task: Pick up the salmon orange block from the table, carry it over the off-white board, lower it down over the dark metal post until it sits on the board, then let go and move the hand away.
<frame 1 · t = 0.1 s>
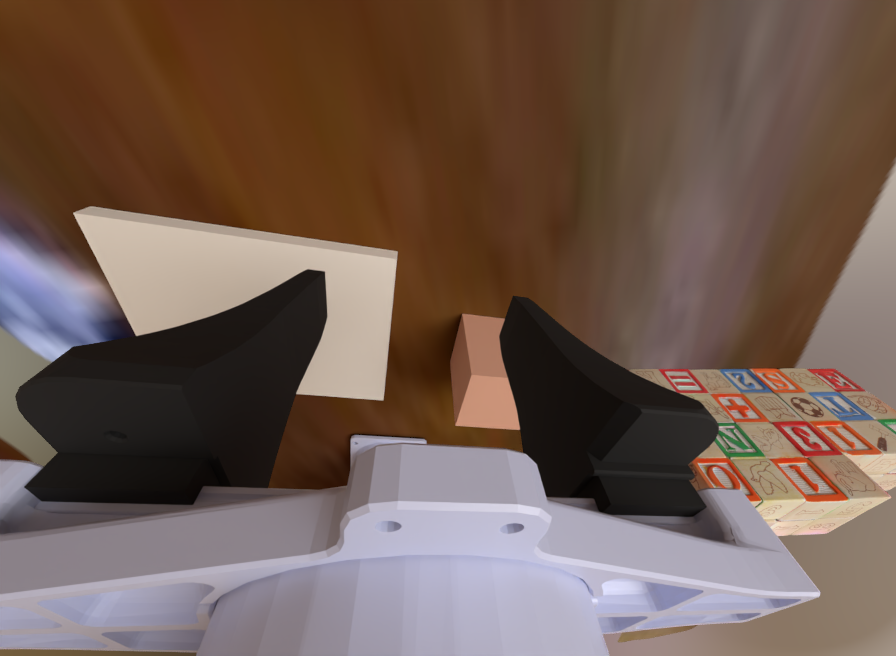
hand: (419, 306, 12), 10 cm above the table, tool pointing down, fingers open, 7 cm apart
post board: (270, 319, 24), on the table
salmon orange block: (485, 342, 27), on the table
stack of blocks: (713, 387, 33), on the table
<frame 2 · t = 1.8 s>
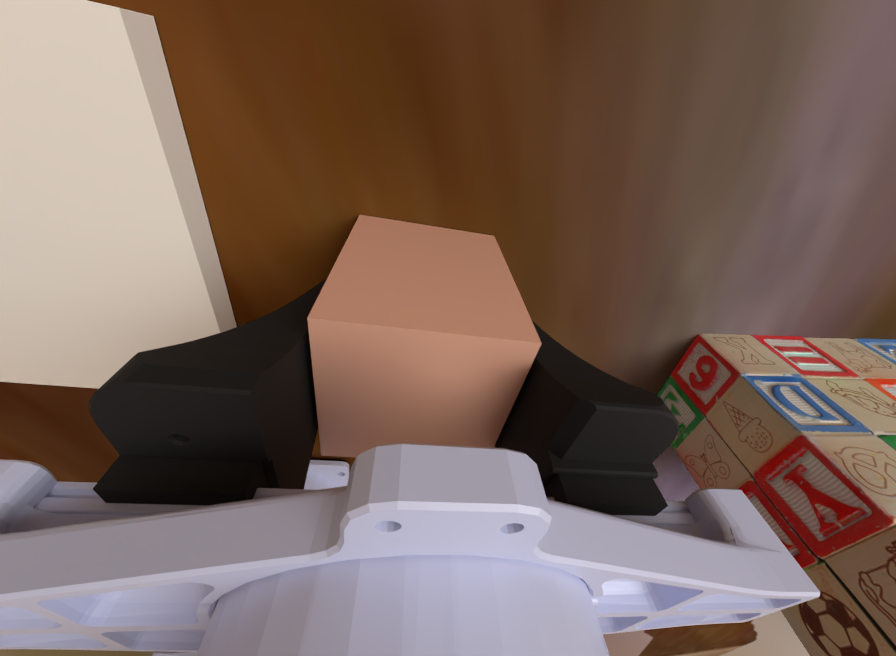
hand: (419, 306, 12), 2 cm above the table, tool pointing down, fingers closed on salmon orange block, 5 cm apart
salmon orange block: (420, 284, 14), on the table, touching gripper
stack of blocks: (828, 373, 19), on the table
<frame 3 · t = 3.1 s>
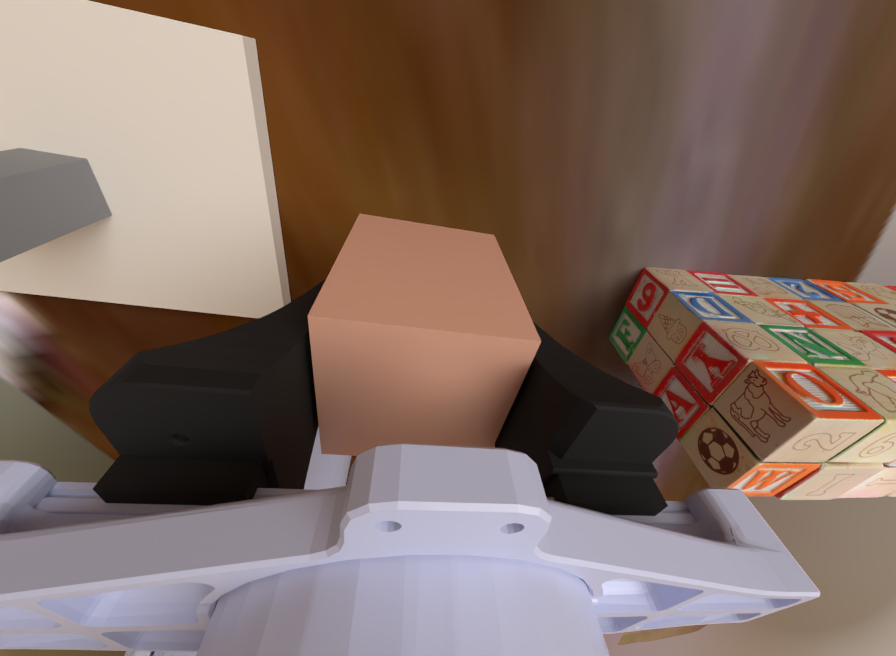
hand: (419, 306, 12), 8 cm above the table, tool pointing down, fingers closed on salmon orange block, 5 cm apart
post board: (90, 177, 16), on the table
salmon orange block: (420, 283, 14), point 6 cm above the table, touching gripper
stack of blocks: (752, 310, 24), on the table
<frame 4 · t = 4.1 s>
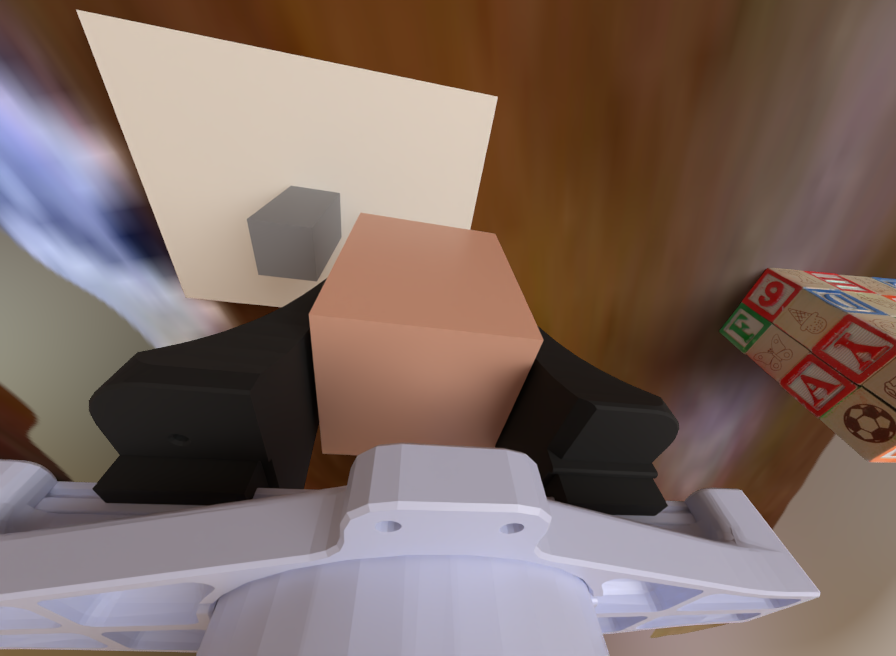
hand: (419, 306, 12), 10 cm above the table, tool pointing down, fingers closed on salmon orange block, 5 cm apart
post board: (322, 206, 20), on the table
salmon orange block: (421, 282, 14), point 8 cm above the table, touching gripper
stack of blocks: (849, 307, 27), on the table
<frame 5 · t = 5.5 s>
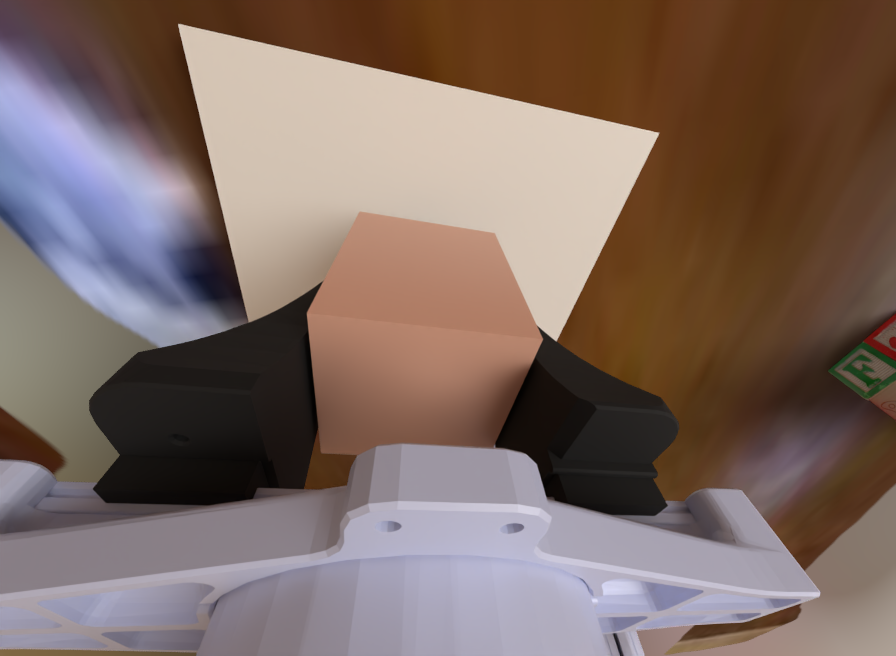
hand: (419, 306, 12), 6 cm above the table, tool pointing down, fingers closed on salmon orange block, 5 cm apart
post board: (421, 247, 17), on the table
salmon orange block: (420, 281, 14), point 4 cm above the table, touching gripper
when the fingers open (4 cm above the table, at t = 6.4 s): salmon orange block drops 1 cm, resting on post board.
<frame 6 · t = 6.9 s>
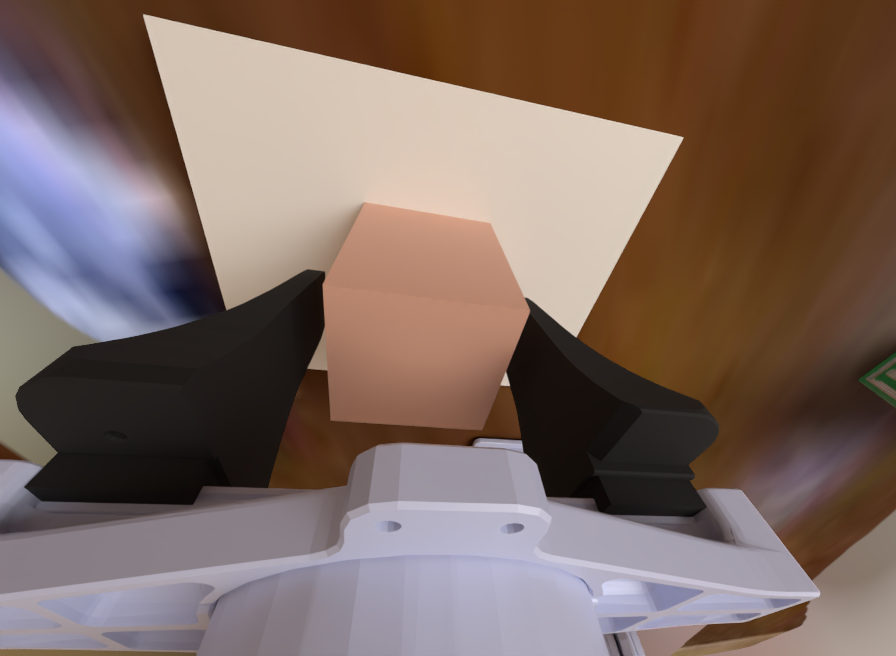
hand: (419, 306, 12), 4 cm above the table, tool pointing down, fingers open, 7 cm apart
post board: (421, 260, 16), on the table
salmon orange block: (421, 269, 15), point 1 cm above the table, touching post board
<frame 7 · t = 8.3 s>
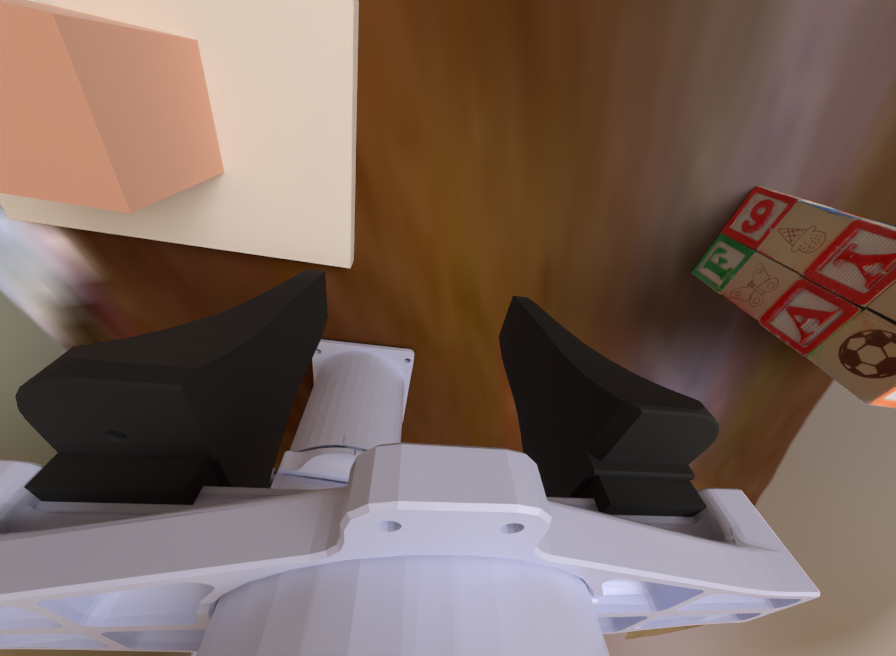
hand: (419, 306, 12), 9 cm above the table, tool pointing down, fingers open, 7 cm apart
post board: (167, 101, 16), on the table
salmon orange block: (149, 99, 15), point 1 cm above the table, touching post board
stack of blocks: (834, 260, 24), on the table
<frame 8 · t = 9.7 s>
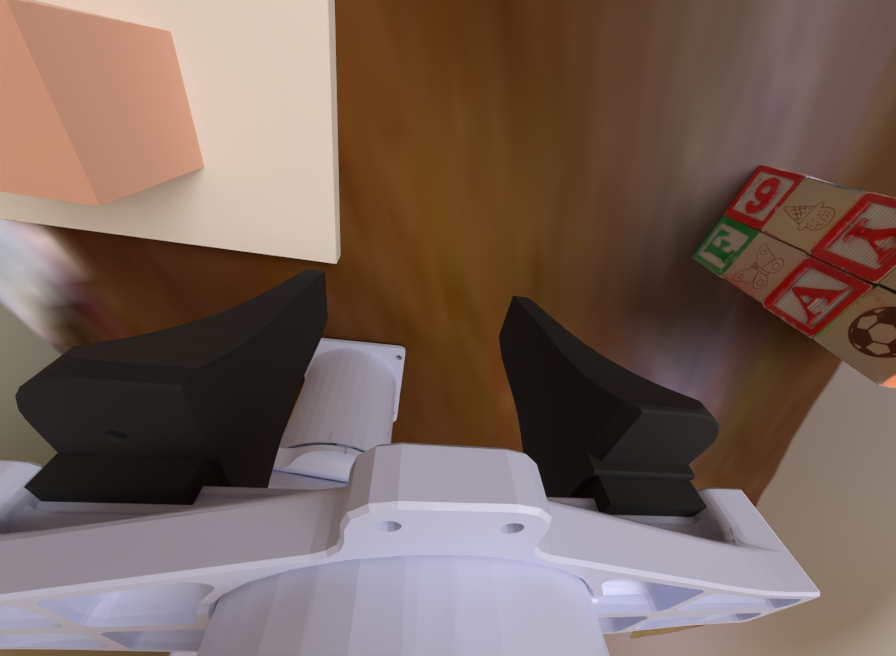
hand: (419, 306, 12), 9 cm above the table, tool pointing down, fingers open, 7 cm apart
post board: (144, 95, 15), on the table
salmon orange block: (125, 93, 14), point 1 cm above the table, touching post board
stack of blocks: (837, 247, 23), on the table
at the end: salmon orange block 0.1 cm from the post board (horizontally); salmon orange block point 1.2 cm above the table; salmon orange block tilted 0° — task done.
